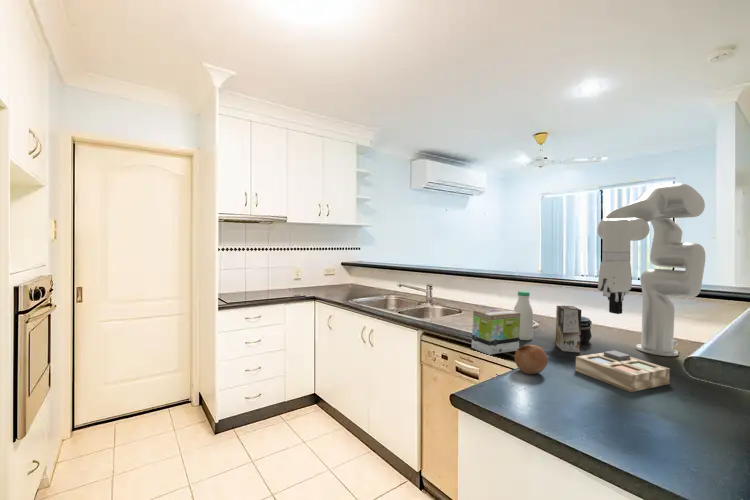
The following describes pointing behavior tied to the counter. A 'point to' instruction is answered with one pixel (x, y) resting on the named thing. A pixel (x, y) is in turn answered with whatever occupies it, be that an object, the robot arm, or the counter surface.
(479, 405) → the counter surface
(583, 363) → the wooden puzzle board
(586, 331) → the container
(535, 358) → the onion
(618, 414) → the counter surface
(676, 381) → the counter surface
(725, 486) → the counter surface
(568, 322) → the coffee box
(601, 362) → the key pale blue
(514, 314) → the tea box
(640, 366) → the key sage
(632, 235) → the robot arm
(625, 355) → the key charcoal
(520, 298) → the milk bottle
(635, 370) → the key terracotta
